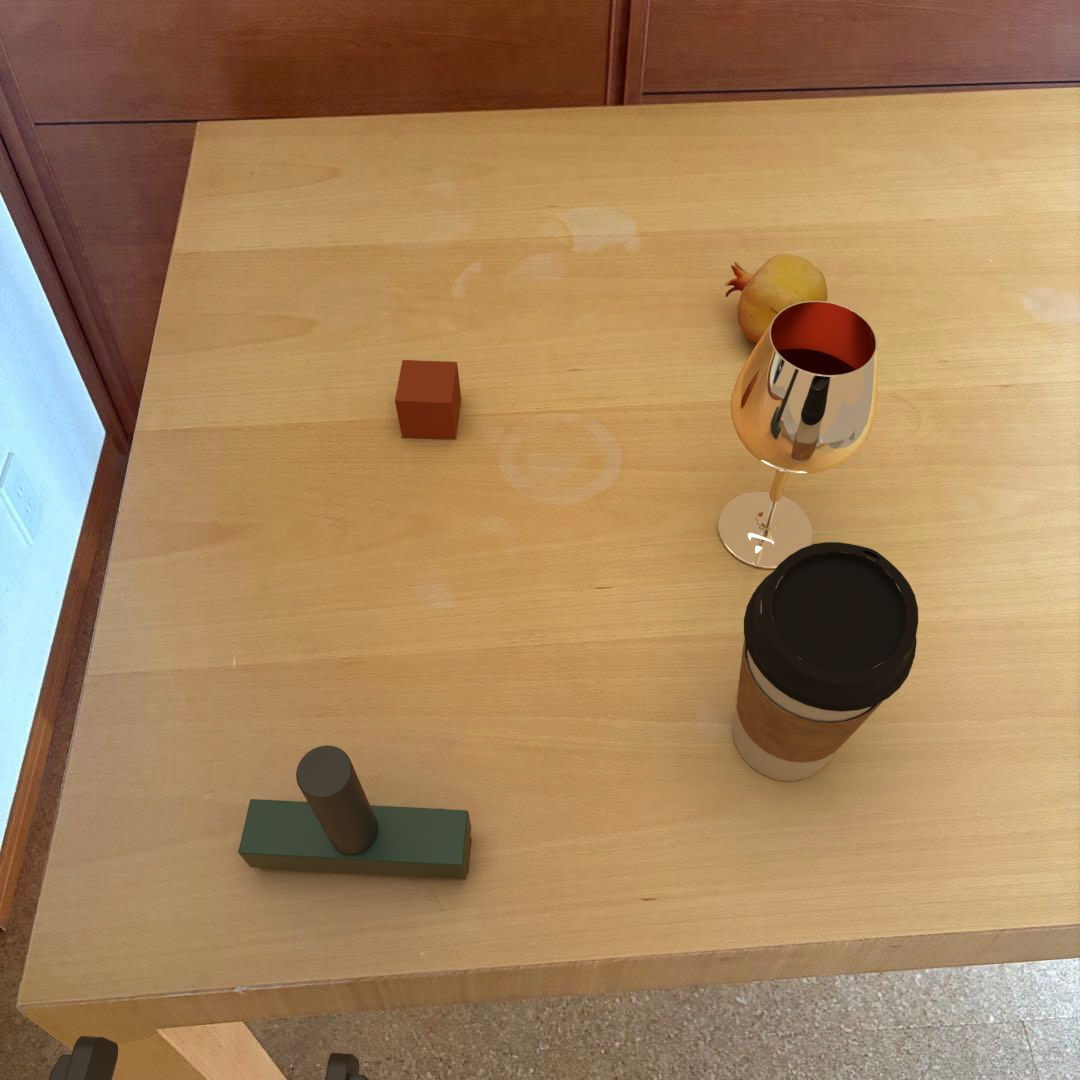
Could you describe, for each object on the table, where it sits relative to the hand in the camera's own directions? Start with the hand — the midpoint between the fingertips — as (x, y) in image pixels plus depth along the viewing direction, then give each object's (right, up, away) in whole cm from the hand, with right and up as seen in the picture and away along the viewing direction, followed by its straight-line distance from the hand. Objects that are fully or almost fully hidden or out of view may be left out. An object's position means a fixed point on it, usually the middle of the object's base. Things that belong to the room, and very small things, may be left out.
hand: (221, 1047), depth 34 cm
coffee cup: (+25, +6, +26) cm, 37 cm away
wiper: (+1, 0, +22) cm, 22 cm away
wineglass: (+26, +18, +35) cm, 47 cm away
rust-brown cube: (+3, +26, +41) cm, 49 cm away
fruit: (+29, +33, +45) cm, 64 cm away
